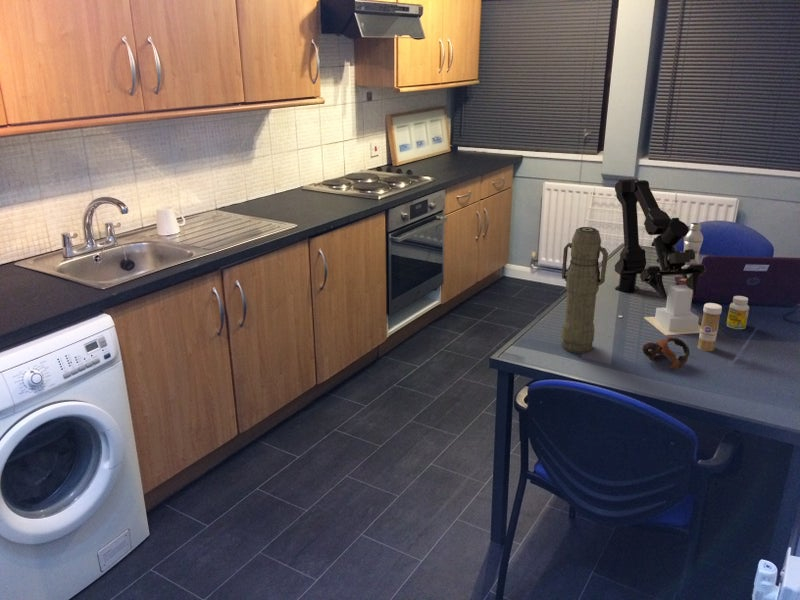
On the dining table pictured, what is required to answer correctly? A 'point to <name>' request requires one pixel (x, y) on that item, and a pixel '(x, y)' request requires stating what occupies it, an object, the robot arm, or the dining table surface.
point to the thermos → (582, 288)
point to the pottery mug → (667, 351)
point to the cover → (677, 310)
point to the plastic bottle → (693, 242)
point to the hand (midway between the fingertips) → (679, 297)
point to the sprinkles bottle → (709, 326)
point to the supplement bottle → (738, 313)
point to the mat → (666, 332)
